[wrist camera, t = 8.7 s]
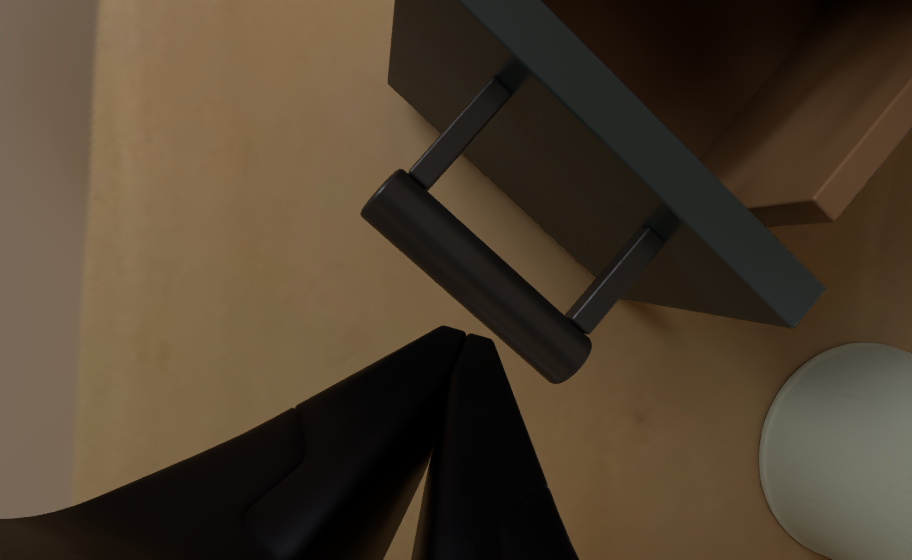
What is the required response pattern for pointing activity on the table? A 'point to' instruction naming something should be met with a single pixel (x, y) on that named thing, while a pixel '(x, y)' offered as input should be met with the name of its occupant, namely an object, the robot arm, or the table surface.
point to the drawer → (643, 148)
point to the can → (843, 453)
